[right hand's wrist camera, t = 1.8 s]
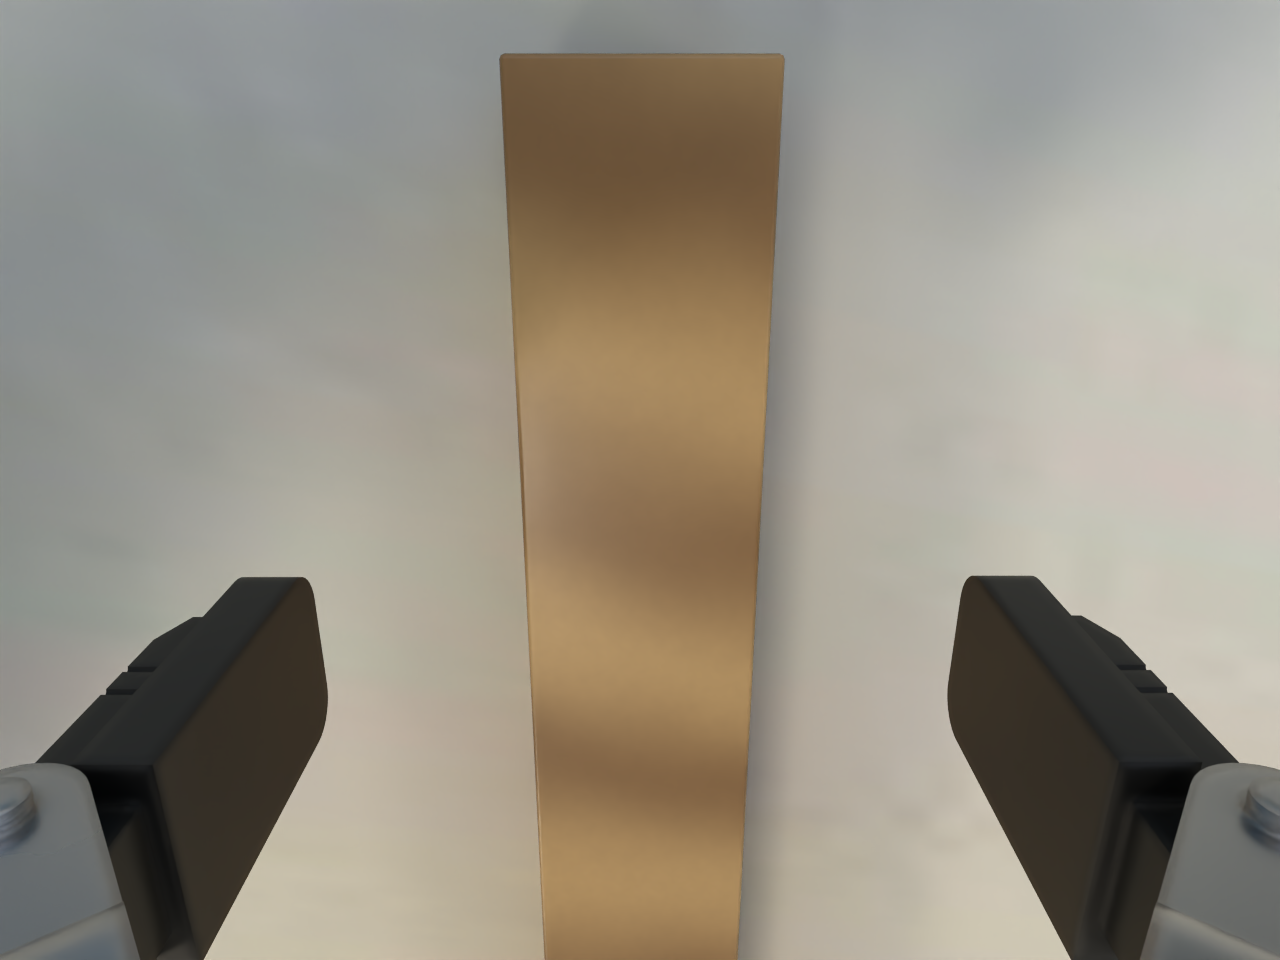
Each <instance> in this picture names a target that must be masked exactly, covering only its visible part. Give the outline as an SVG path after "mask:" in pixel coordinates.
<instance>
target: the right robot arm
mask: <svg viewBox="0 0 1280 960" xmlns="http://www.w3.org/2000/svg"><path fill="white" fill-rule="evenodd" d="M327 705H328V690H327V681H326V675H325V668H324V661H323V654H322V647H321V640H320V633H319V627H318V620H317V613H316V606H315V599H314V594H313V590H312V587H311V585H310V583H309V582H308V580H307V579H306V578H303V577H241V578H239V579H237V580H236V581H235V582H234V583H233V584H232V585H231V587H230V588H229V589H228V590H227V591H226V592H225V593H224V594H223V595H222V596H221V598H220V599H219V600H218V601H217V602H216V603H215V604H214V605H213V606H212V608H211V609H210V610H209V611H208V612H207V613H206V614H205V615H204V616H203V617H192V618H191V619H189V620H187V621H186V622H184V623H182V624H180V625H179V626H177V627H175V628H173V629H172V630H170V631H168V632H167V633H165V634H163V635H161V636H160V637H158V638H156V639H154V640H153V641H152V642H151V643H150V644H149V645H148V646H147V647H146V648H145V649H144V651H143V652H142V653H141V654H140V655H139V656H138V657H137V658H136V659H135V660H134V661H133V662H132V663H131V664H130V665H129V666H128V671H127V672H122V673H121V674H120V675H119V676H118V678H117V679H116V680H115V681H114V682H113V683H112V684H111V685H110V686H109V687H108V688H107V689H106V695H100V696H99V697H98V698H97V699H96V700H95V701H94V702H93V703H92V705H91V706H90V707H89V708H88V709H87V710H86V711H85V712H84V713H83V714H82V715H81V716H80V717H79V718H78V719H77V720H76V721H75V722H74V723H73V724H72V725H71V726H70V727H69V728H68V729H67V730H66V732H65V733H64V734H63V735H62V736H61V737H60V738H59V739H58V740H57V741H56V742H55V743H54V744H53V745H52V746H51V747H50V748H49V749H48V750H47V751H46V752H45V753H44V754H43V755H42V756H41V758H40V759H39V760H38V761H37V762H36V763H34V764H25V765H19V766H14V767H10V768H5V769H2V770H0V960H204V958H205V956H206V954H207V952H208V950H209V948H210V946H211V945H212V943H213V941H214V939H215V937H216V935H217V933H218V931H219V929H220V928H221V926H222V924H223V922H224V920H225V918H226V916H227V914H228V912H229V911H230V909H231V907H232V905H233V903H234V901H235V899H236V897H237V895H238V894H239V892H240V890H241V888H242V886H243V884H244V882H245V880H246V878H247V877H248V875H249V873H250V871H251V869H252V867H253V865H254V863H255V861H256V860H257V858H258V856H259V854H260V852H261V850H262V848H263V846H264V844H265V843H266V841H267V839H268V837H269V835H270V833H271V831H272V829H273V827H274V826H275V824H276V822H277V820H278V818H279V816H280V814H281V812H282V810H283V809H284V807H285V805H286V803H287V801H288V799H289V797H290V795H291V793H292V792H293V790H294V788H295V786H296V784H297V782H298V780H299V778H300V776H301V775H302V773H303V771H304V769H305V767H306V765H307V763H308V761H309V759H310V757H311V756H312V754H313V752H314V750H315V748H316V746H317V744H318V742H319V740H320V738H321V736H322V733H323V729H324V726H325V721H326V715H327ZM948 711H949V718H950V723H951V727H952V730H953V733H954V736H955V738H956V740H957V742H958V744H959V746H960V748H961V750H962V752H963V754H964V756H965V757H966V759H967V761H968V763H969V765H970V767H971V769H972V771H973V773H974V775H975V777H976V779H977V780H978V782H979V784H980V786H981V788H982V790H983V792H984V794H985V796H986V798H987V800H988V802H989V803H990V805H991V807H992V809H993V811H994V813H995V815H996V817H997V819H998V821H999V823H1000V824H1001V826H1002V828H1003V830H1004V832H1005V834H1006V836H1007V838H1008V840H1009V842H1010V844H1011V846H1012V847H1013V849H1014V851H1015V853H1016V855H1017V857H1018V859H1019V861H1020V863H1021V865H1022V867H1023V868H1024V870H1025V872H1026V874H1027V876H1028V878H1029V880H1030V882H1031V884H1032V886H1033V888H1034V890H1035V891H1036V893H1037V895H1038V897H1039V899H1040V901H1041V903H1042V905H1043V907H1044V909H1045V911H1046V912H1047V914H1048V916H1049V918H1050V920H1051V922H1052V924H1053V926H1054V928H1055V930H1056V932H1057V934H1058V935H1059V937H1060V939H1061V941H1062V943H1063V945H1064V947H1065V949H1066V951H1067V953H1068V955H1069V956H1070V958H1071V960H1280V770H1278V769H1275V768H1270V767H1266V766H1261V765H1255V764H1246V763H1239V762H1238V761H1237V760H1236V759H1235V758H1234V757H1233V756H1232V755H1231V754H1230V753H1229V752H1228V751H1227V750H1226V748H1225V747H1224V746H1223V745H1222V744H1221V743H1220V742H1219V741H1218V740H1217V739H1216V738H1215V737H1214V736H1213V735H1212V734H1211V733H1210V732H1209V731H1208V730H1207V729H1206V728H1205V726H1204V725H1203V724H1202V723H1201V722H1200V721H1199V720H1198V719H1197V718H1196V717H1195V716H1194V715H1193V714H1192V713H1191V712H1190V711H1189V710H1188V709H1187V708H1186V707H1185V706H1184V704H1183V703H1182V702H1181V701H1180V700H1179V699H1178V698H1177V697H1176V696H1175V695H1174V694H1173V693H1168V692H1167V687H1166V686H1165V685H1164V683H1163V682H1162V681H1161V680H1160V679H1159V678H1158V677H1157V676H1156V675H1155V674H1154V673H1153V672H1152V671H1151V670H1146V665H1145V664H1144V663H1143V661H1142V660H1141V659H1140V658H1139V657H1138V656H1137V655H1136V654H1135V653H1134V652H1133V651H1132V650H1131V649H1130V648H1129V647H1128V646H1127V645H1126V644H1125V643H1124V642H1123V641H1122V639H1121V638H1119V637H1117V636H1116V635H1114V634H1112V633H1110V632H1109V631H1107V630H1105V629H1104V628H1102V627H1100V626H1098V625H1097V624H1095V623H1093V622H1092V621H1090V620H1088V619H1086V618H1085V617H1083V616H1071V615H1070V614H1069V612H1068V611H1067V610H1066V609H1065V608H1064V607H1063V606H1062V605H1061V604H1060V602H1059V601H1058V600H1057V599H1056V598H1055V597H1054V596H1053V595H1052V594H1051V592H1050V591H1049V590H1048V589H1047V588H1046V587H1045V586H1044V585H1043V583H1042V582H1041V581H1040V580H1039V579H1038V578H1036V577H1034V576H970V577H969V578H968V579H967V580H966V582H965V584H964V586H963V589H962V593H961V598H960V605H959V612H958V619H957V626H956V633H955V640H954V647H953V654H952V661H951V668H950V675H949V682H948Z"/></svg>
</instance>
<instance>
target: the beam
mask: <svg viewBox="0 0 1280 960" xmlns="http://www.w3.org/2000/svg"><path fill="white" fill-rule="evenodd" d="M499 61H500V81H501V100H502V120H503V140H504V160H505V180H506V200H507V220H508V240H509V259H510V279H511V299H512V319H513V339H514V359H515V379H516V398H517V418H518V438H519V458H520V478H521V498H522V518H523V538H524V557H525V577H526V597H527V617H528V637H529V657H530V677H531V696H532V716H533V736H534V756H535V776H536V796H537V816H538V836H539V855H540V875H541V895H542V915H543V935H544V955H545V960H737V959H738V940H739V921H740V902H741V882H742V863H743V844H744V825H745V806H746V787H747V768H748V749H749V730H750V711H751V692H752V673H753V653H754V634H755V615H756V596H757V577H758V558H759V539H760V520H761V501H762V482H763V463H764V443H765V424H766V405H767V386H768V367H769V348H770V329H771V310H772V291H773V272H774V253H775V234H776V214H777V195H778V176H779V157H780V138H781V119H782V100H783V81H784V62H785V59H784V56H783V55H781V54H502V55H501V56H500V59H499Z"/></svg>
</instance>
